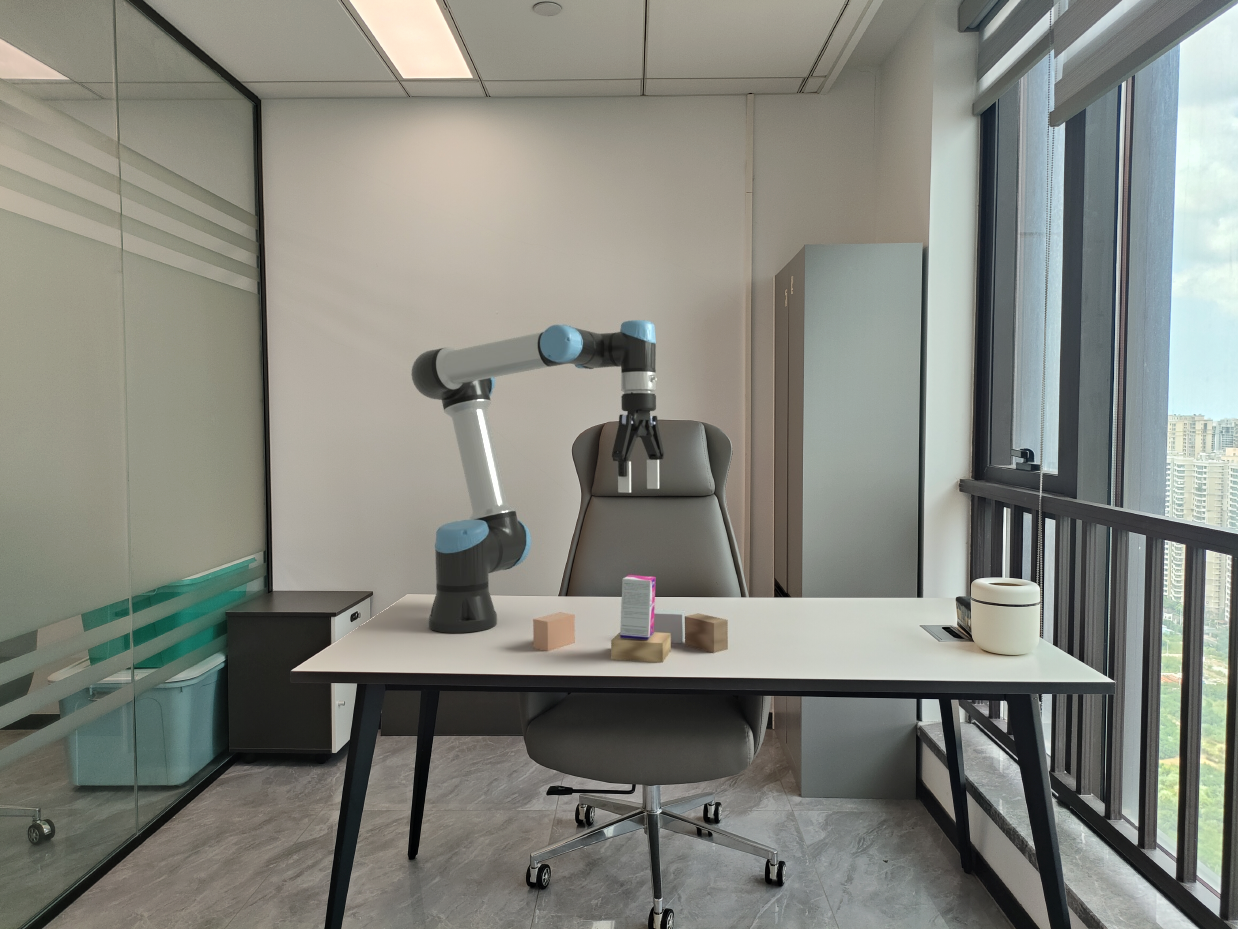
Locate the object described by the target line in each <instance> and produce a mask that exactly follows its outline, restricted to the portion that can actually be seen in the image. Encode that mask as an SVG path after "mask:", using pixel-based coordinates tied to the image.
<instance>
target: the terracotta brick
mask: <svg viewBox="0 0 1238 929" xmlns="http://www.w3.org/2000/svg"><path fill="white" fill-rule="evenodd" d="M575 617H576V616H575V614H574V613H568V612H563V611H559V612H556V613H552V614H547V615H543V616H540V617H535V618H533V620H532V622H533V630H532V632H533V633H532V634H533V637H532V639H533V640H532V641H533V649H536V650H540V651H543V652H551V651H554V650H558V649H560V648H564V647H566V646H570V645H572V644H575V643H576V634H575V632H576V629H575V628H576V625H575V624H576V622H575V621H576V620H575Z"/></svg>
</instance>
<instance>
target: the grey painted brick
mask: <svg viewBox="0 0 1238 929" xmlns="http://www.w3.org/2000/svg"><path fill="white" fill-rule="evenodd" d="M685 611H686V610H681V609H659V608H657V609H656V608H654V632H658V633H671V644H672V643H673V644H683V643H684V642H685V616H686V615H685Z"/></svg>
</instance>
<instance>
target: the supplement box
mask: <svg viewBox="0 0 1238 929" xmlns="http://www.w3.org/2000/svg"><path fill="white" fill-rule="evenodd" d="M656 578H657V577H656V576H649V575H648V576H646V575H636V574H635V575H633V574H628V575H626V576H624V577H623V578H622V579H621V581H622V582H621V584H622V585H621V603H620V604H621V605H620V606H621V608H620V630H619V632H620V638H626V639H640V640H648V639H649V638H650V637H651V635H653V633H654V609H656V607H655V605H656V604H655V603H656V583H657V582H656Z"/></svg>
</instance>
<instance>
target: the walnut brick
mask: <svg viewBox="0 0 1238 929" xmlns="http://www.w3.org/2000/svg"><path fill="white" fill-rule="evenodd" d="M728 622H729V620H728V619H726V618H721V617H718V616H712V615H707V614H703V613H693V614H689V615H685V639H684V646H686V647H687V646H688V647H691V648H695V649H698V650H702V651H706V652H709V653H713V654H715V653H719V652H723V651H727V650H728V648H729V646H728V644H729V643H728V642H729V640H728V639H729V636H728V635H729V634H728V632H729V631H728V630H729V628H728V627H729V625H728Z"/></svg>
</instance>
